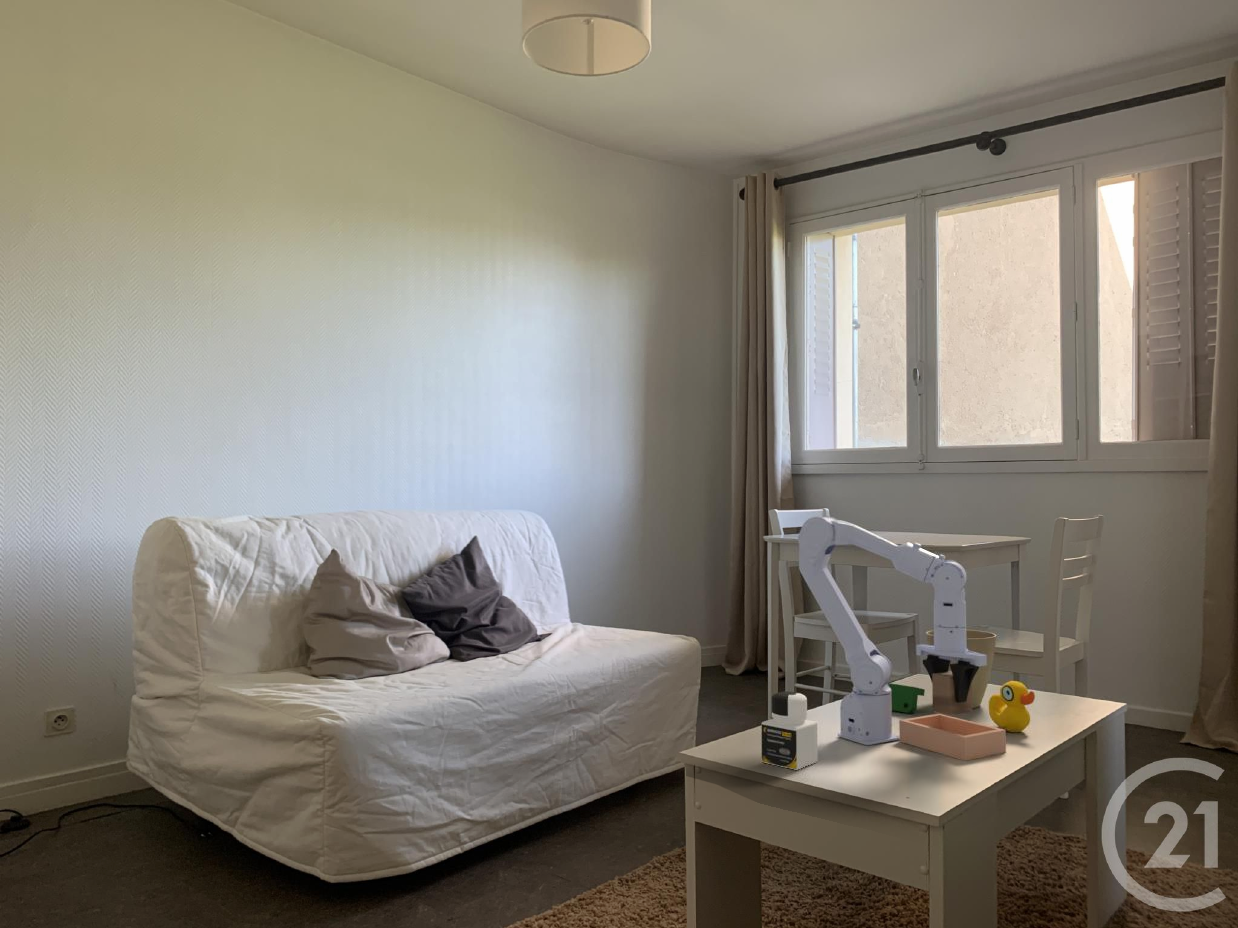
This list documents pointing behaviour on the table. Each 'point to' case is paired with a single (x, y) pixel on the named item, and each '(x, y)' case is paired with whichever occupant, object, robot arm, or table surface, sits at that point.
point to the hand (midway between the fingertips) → (950, 699)
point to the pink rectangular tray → (953, 736)
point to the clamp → (905, 697)
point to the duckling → (1011, 706)
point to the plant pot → (982, 645)
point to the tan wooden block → (948, 695)
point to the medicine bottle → (789, 733)
